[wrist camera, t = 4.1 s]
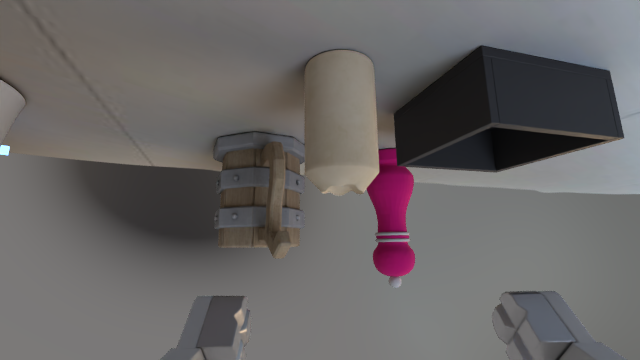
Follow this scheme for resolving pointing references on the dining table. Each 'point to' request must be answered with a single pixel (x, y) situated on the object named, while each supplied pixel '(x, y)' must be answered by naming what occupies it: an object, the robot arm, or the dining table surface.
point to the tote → (506, 113)
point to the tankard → (260, 191)
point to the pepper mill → (392, 217)
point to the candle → (340, 122)
